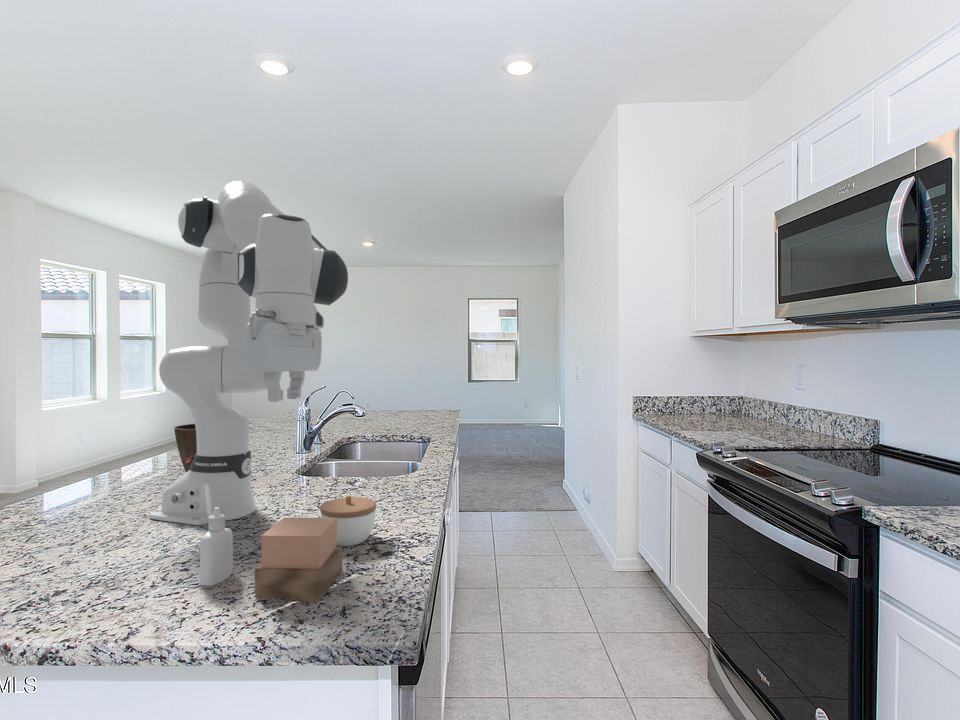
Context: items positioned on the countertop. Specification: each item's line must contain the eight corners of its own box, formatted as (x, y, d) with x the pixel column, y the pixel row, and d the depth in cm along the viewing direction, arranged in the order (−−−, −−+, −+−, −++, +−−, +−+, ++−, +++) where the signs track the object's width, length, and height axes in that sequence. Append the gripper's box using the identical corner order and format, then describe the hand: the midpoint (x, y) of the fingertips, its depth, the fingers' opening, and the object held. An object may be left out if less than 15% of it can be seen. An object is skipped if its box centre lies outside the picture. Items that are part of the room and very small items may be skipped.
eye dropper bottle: (193, 581, 87) (193, 508, 87) (228, 571, 91) (228, 502, 91) (203, 589, 84) (204, 514, 84) (239, 578, 88) (239, 507, 88)
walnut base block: (255, 600, 81) (255, 568, 81) (286, 574, 91) (286, 545, 91) (317, 604, 80) (317, 571, 80) (342, 577, 90) (342, 547, 90)
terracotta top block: (261, 567, 81) (261, 535, 81) (284, 546, 90) (284, 517, 90) (319, 568, 81) (319, 536, 81) (336, 547, 90) (336, 518, 90)
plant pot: (161, 484, 152) (161, 428, 152) (197, 472, 167) (197, 421, 167) (208, 486, 150) (208, 429, 150) (240, 474, 164) (241, 423, 164)
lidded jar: (347, 557, 98) (347, 506, 98) (308, 546, 104) (308, 498, 104) (387, 540, 107) (387, 493, 107) (349, 530, 113) (349, 486, 113)
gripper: (272, 307, 75) (272, 405, 75) (328, 319, 95) (328, 396, 95) (230, 307, 75) (229, 405, 75) (294, 319, 96) (294, 396, 96)
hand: (285, 400), depth 85 cm, fingers open, 5 cm apart
